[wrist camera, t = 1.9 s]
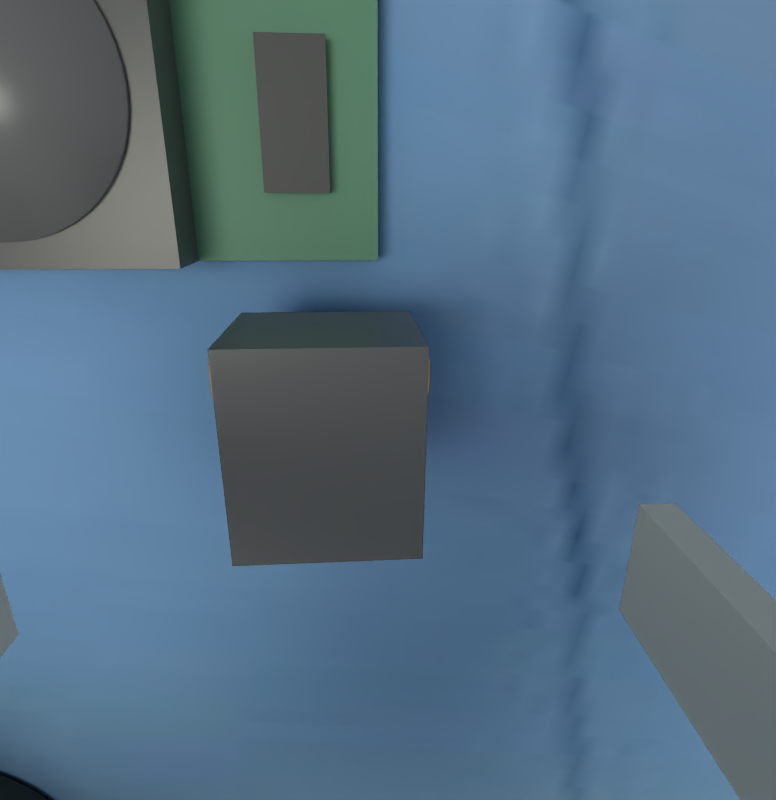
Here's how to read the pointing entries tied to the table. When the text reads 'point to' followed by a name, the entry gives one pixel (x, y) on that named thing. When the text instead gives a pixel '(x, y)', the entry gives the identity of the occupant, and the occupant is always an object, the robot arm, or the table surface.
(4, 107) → the fan
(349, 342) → the plug
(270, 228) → the board
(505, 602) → the table surface
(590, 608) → the table surface
